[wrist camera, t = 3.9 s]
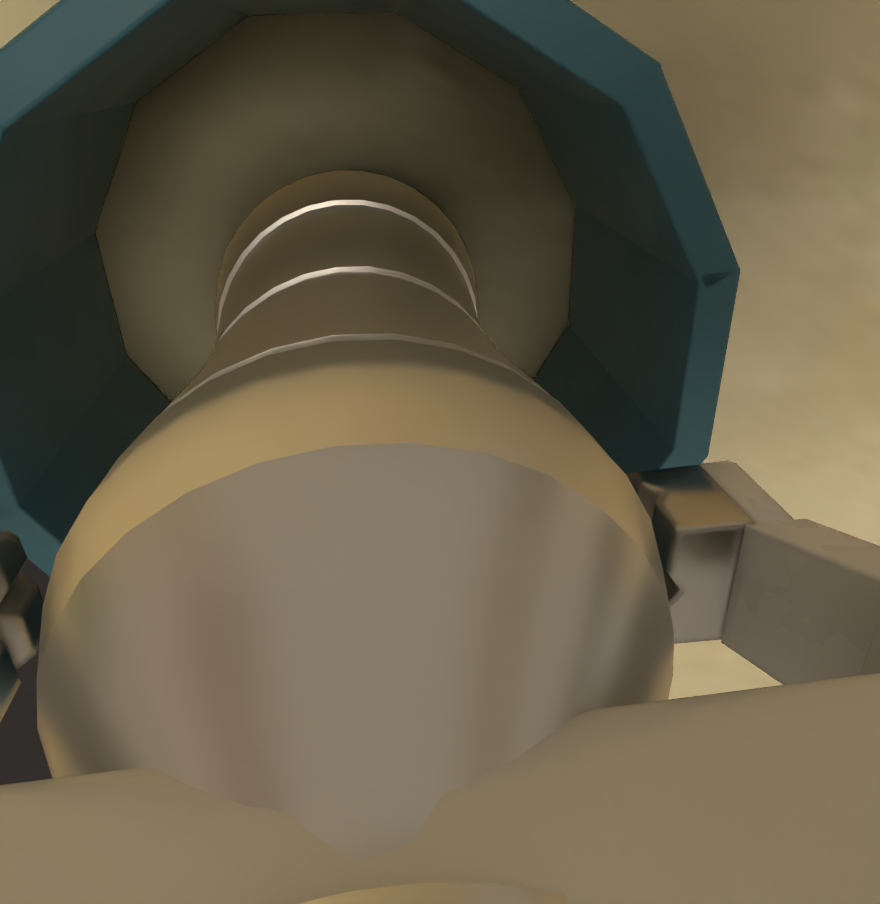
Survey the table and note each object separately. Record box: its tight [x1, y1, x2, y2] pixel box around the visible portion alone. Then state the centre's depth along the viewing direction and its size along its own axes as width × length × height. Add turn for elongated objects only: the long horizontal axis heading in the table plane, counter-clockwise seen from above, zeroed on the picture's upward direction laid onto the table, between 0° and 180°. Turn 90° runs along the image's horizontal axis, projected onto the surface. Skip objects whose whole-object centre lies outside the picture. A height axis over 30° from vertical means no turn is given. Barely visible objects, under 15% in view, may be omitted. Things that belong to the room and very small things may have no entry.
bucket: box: [0, 0, 740, 576], centre depth 17 cm, size 15×15×8 cm
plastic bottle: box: [37, 171, 674, 904], centre depth 12 cm, size 6×7×20 cm
